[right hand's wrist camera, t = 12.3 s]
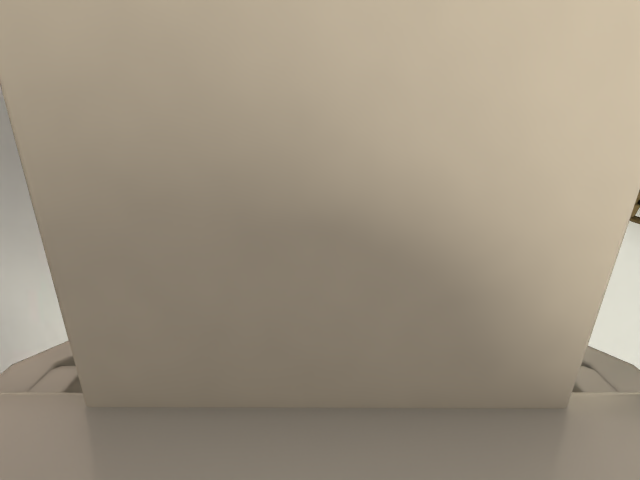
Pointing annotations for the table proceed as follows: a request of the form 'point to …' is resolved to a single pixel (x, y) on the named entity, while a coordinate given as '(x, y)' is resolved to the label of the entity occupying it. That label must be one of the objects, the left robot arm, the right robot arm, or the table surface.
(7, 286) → the table surface
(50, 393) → the right robot arm
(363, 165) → the box
